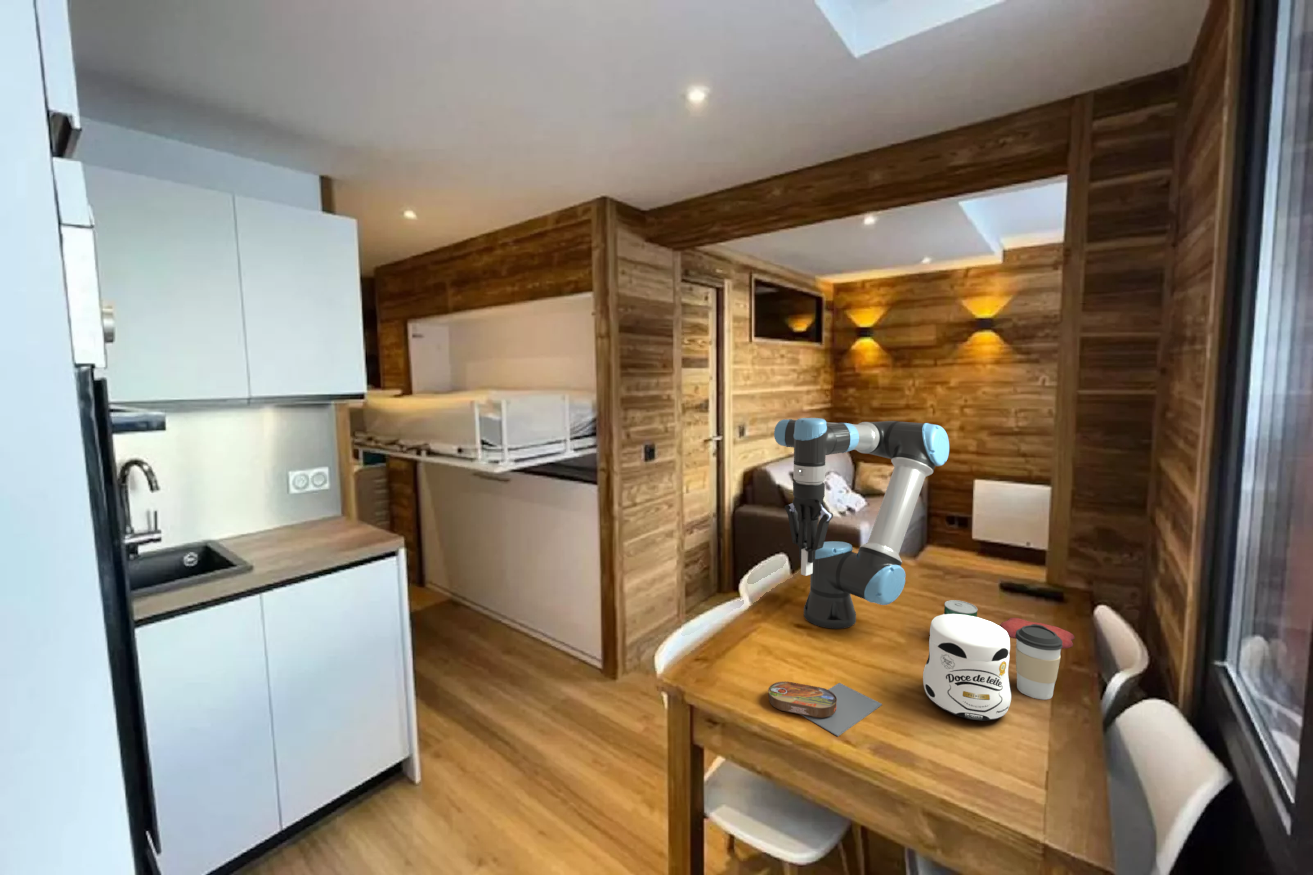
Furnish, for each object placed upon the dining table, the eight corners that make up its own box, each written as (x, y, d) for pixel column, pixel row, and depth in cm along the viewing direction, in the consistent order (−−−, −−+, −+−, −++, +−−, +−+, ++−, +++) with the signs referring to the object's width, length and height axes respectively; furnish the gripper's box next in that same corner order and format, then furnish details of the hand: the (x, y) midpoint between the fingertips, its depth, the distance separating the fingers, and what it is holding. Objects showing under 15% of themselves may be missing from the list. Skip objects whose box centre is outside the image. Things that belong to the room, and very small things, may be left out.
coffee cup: (1059, 707, 125) (1065, 643, 123) (1011, 694, 129) (1016, 633, 127) (1056, 687, 132) (1061, 627, 130) (1011, 676, 137) (1015, 618, 135)
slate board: (794, 711, 124) (794, 710, 124) (839, 683, 135) (839, 682, 135) (837, 736, 116) (837, 735, 116) (881, 705, 126) (882, 703, 126)
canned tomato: (979, 653, 148) (982, 613, 147) (947, 650, 150) (949, 611, 148) (969, 638, 156) (971, 601, 154) (938, 636, 157) (940, 599, 156)
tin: (839, 690, 126) (834, 708, 119) (839, 704, 127) (834, 723, 119) (773, 678, 133) (764, 694, 125) (773, 691, 133) (764, 708, 125)
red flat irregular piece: (997, 636, 158) (997, 629, 158) (1002, 618, 169) (1003, 611, 169) (1074, 654, 148) (1074, 647, 148) (1074, 634, 159) (1075, 627, 159)
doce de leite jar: (969, 736, 115) (975, 654, 113) (905, 691, 131) (908, 618, 129) (1028, 718, 121) (1035, 639, 119) (960, 677, 137) (964, 607, 135)
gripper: (777, 479, 140) (776, 570, 143) (822, 487, 130) (819, 585, 133) (796, 475, 144) (795, 563, 147) (841, 483, 134) (838, 577, 137)
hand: (806, 573), depth 140 cm, fingers closed
